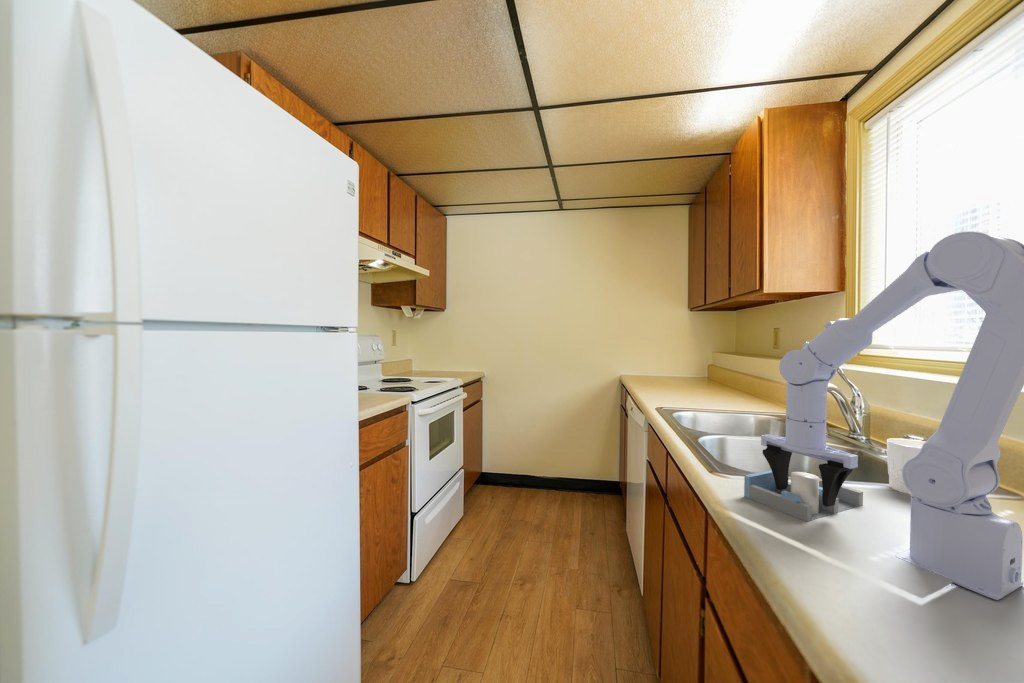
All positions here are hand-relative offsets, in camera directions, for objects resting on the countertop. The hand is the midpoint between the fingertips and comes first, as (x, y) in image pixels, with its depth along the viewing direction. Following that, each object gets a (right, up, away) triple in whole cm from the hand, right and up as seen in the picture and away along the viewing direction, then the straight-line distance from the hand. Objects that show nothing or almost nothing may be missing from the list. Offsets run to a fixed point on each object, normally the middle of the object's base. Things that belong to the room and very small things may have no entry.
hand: (804, 496), depth 69 cm
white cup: (+29, -3, +9) cm, 30 cm away
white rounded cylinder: (0, -2, 0) cm, 2 cm away
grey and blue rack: (+3, -3, +3) cm, 5 cm away
